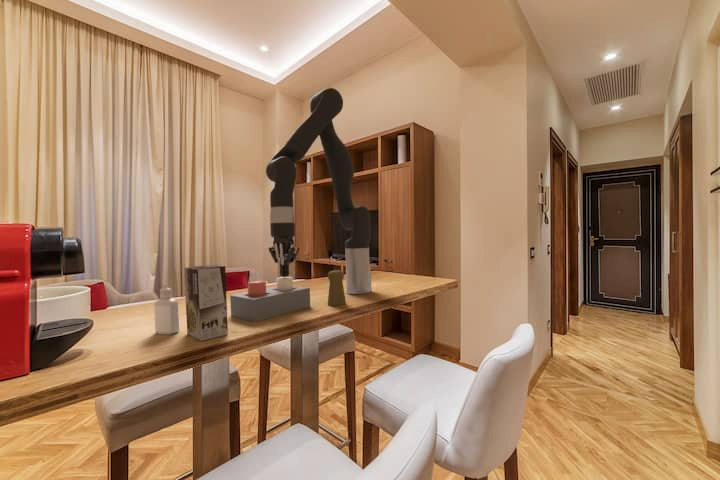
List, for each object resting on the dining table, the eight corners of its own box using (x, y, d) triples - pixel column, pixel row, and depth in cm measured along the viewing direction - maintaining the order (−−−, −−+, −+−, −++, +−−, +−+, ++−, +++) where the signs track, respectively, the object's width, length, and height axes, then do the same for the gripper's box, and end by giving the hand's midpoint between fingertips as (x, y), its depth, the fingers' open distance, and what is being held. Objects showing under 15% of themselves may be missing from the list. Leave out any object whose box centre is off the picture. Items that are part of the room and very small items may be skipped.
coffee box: (229, 334, 72) (226, 266, 71) (200, 342, 67) (197, 268, 67) (213, 327, 78) (211, 264, 78) (186, 333, 73) (183, 266, 73)
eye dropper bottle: (159, 337, 71) (157, 286, 71) (154, 332, 75) (152, 283, 75) (180, 332, 74) (178, 283, 74) (174, 328, 78) (172, 281, 78)
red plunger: (260, 300, 92) (259, 280, 92) (270, 302, 89) (269, 281, 89) (245, 303, 88) (244, 282, 88) (254, 305, 85) (254, 284, 85)
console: (286, 302, 104) (285, 284, 104) (310, 306, 97) (309, 287, 97) (231, 315, 89) (230, 295, 89) (254, 322, 81) (253, 299, 81)
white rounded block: (286, 294, 100) (285, 276, 100) (296, 295, 97) (295, 277, 97) (273, 297, 96) (273, 278, 96) (283, 298, 93) (283, 279, 93)
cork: (347, 301, 102) (346, 269, 102) (344, 306, 96) (343, 271, 96) (329, 302, 103) (328, 269, 103) (325, 306, 97) (324, 271, 97)
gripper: (305, 221, 95) (307, 276, 95) (279, 223, 103) (281, 274, 104) (286, 220, 89) (288, 279, 90) (260, 222, 97) (261, 276, 98)
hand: (284, 276), depth 97 cm, fingers closed
